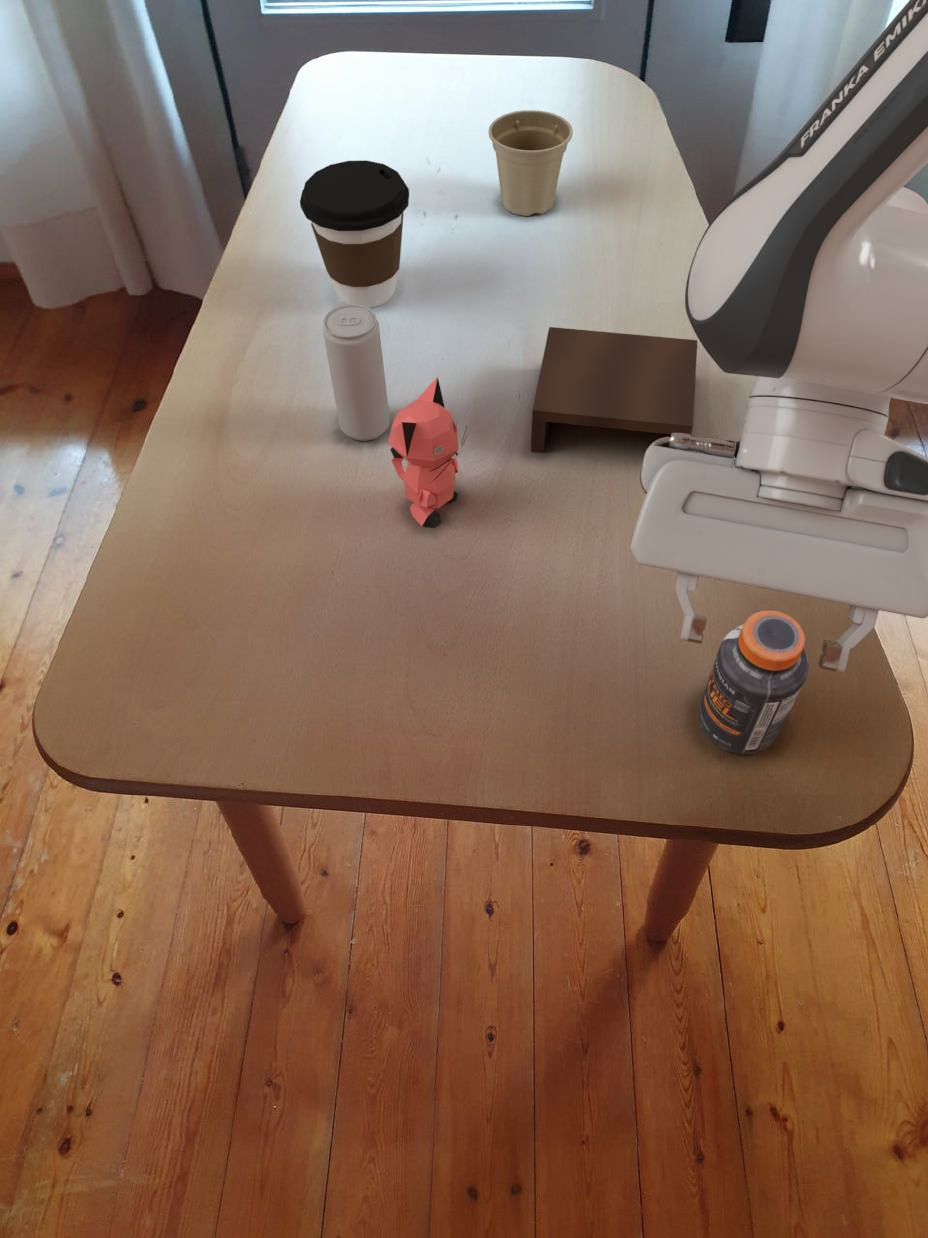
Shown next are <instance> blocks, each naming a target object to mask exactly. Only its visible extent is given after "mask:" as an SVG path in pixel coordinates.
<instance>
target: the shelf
mask: <svg viewBox="0 0 928 1238" xmlns="http://www.w3.org/2000/svg"><path fill="white" fill-rule="evenodd" d="M697 355H698V340H697V339H688V338H677V337H676V338H675V337H665V336H655V335H644V334H634V333H633V334H632V333H621V332H610V331H599V330H587V329H577V328H564V327H556V326H555V327H554V326H549V327H548V332H547V335H546V341H545V346H544V351H543V356H542V361H541V366H540V370H539V376H538V380H537V386H536V391H535V394H534V401H533V405H532V412H531V435H530V436H531V437H530V452H532V453H541V454H543V453H545V447H546V442H547V436H548V430H549V426H550V425H549V424H550V423H557V424H567V425H577V426H587V427H596V428H603V429H605V428H606V429H615V430H624V431H625V430H626V431H635V432H645V433H654V434H665V435H671V434H672V433H686V434H690V435H691V436H692V432H693V428H694V417H695V416H694V415H695V414H694V413H695V396H696V395H695V393H696V375H697V357H698V356H697ZM672 449H674V448H672Z"/></svg>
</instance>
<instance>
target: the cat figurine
mask: <svg viewBox="0 0 928 1238" xmlns="http://www.w3.org/2000/svg"><path fill="white" fill-rule="evenodd" d="M467 428H468V425H466V426H465V430H464V433H463V436H462V439H461V440H462V441H461V446H463V445H464V443H465V441H466V439H467V438H468V435H466V432H467ZM458 434H459V433H458V428H457V423H456V422H455V421H454V418H453V416H452V414H451V412H450V411H448V410H447V409H446V408H445V403H444V399H443V395H442V389H441V384H440V381H439V376H436V377H435V379H433V381H431V383H430V384H429V385H428V386H427V388H426V389H425V390H424V391H423V392H422V393H421V394H420V395H419V396H418V398H417V399H415V400H413V401H412V402H410V403H409V404H407V405H406V406H405V407H403V408H402V409H400V410H399V411H397V413H396V415H395V417H394V419H393V421H392V424H391V428H390V434H389V438H388V445H390V447H391V448H390V449H389V450H390V453H391V454H392V457H393V458H392V459H391V463H392V465H393V467H394V469H395V471H396V474H397V475H398V478H399V479H401V480H402V481H403V483H404V491H405V497H406V499H408V500H409V501H411V502H412V504H411V505H410V506H409V509H410V513H411V516H412V517H413V519H414V520H415V521H417V523H418V524H419V525H420V526H421V527H423V528H433V529H434V528H436V527H437V526H439V525H440V524H442V519H441V515H440V513H439V512H438V511H437V510H436V509H440V508H441V507H442V506H444V505H446V506H447V505H449V504H452V503H454V502H457V499H458V492H456V491H455V486H456V474H457V473H459V464H458V459H457V457H458V456H459V453H461V452H462V450H460V451H459V435H458ZM465 435H466V437H465ZM464 437H465V438H464ZM458 451H459V452H458ZM403 460H406V461H407V465H406V467H405V471H404V467H403V463H402V461H403Z"/></svg>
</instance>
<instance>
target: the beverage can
mask: <svg viewBox="0 0 928 1238" xmlns="http://www.w3.org/2000/svg"><path fill="white" fill-rule="evenodd" d="M322 321H323V325H322V333H323V339H324V344H325V349H326V350H325V351H326V355H327V362H328V369H329V373H330V380H331V385H332V390H333V397H334V402H335V408H336V414H337V418H338V419H337V420H338V425H339V428H340V430H341V431H342V432H343V433H344V434H345V435H346V436H347V437H349V438H351V439H353V440H356V441H360V442H367V441H373V440H376V439H378V438H379V437H381V436H382V435H383V434H384V433H386V431H387V429H388V428H389V427H390V424H391V417H390V409H389V400H388V399H389V398H388V392H387V383H386V374H385V366H384V365H385V364H384V357H383V349H382V340H381V339H382V338H381V331H380V323H379V321H378V319H377V314H376V313H375V311H374V310H373V309H372V308H368V307H366V306H364V305H360V304H346V303H344V304H342V305H339V306H338V305H337V306H336V307H334V308H332V309H330V310H329V311H327V313H326V314H325V315H324V318H323V320H322Z"/></svg>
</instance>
